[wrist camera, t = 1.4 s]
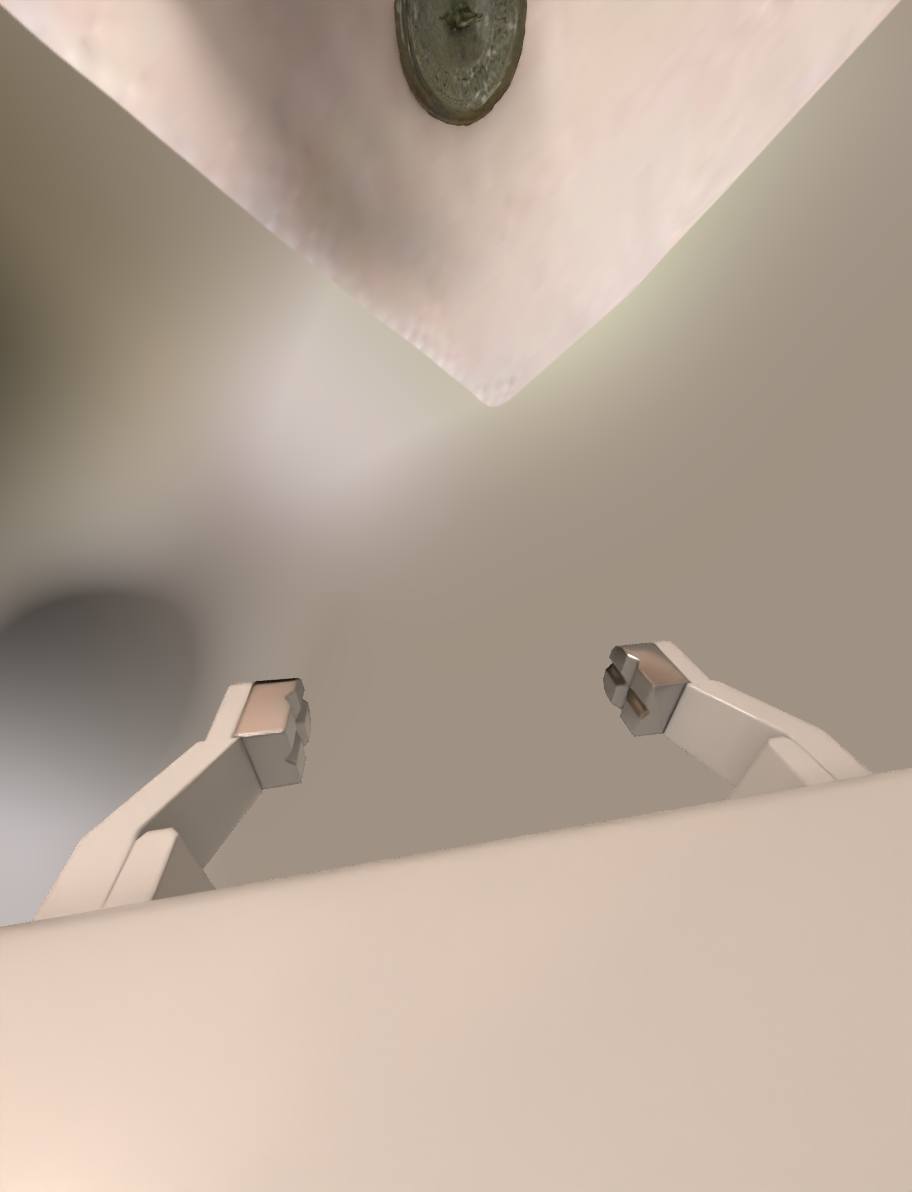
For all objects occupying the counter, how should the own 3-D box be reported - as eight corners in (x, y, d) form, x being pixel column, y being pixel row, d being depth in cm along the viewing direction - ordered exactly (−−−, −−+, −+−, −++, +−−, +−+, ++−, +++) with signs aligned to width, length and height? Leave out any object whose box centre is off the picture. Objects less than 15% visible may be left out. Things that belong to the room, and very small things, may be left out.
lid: (434, -155, 26) (429, -198, 23) (553, -30, 30) (564, -52, 26) (382, 77, 33) (373, 69, 30) (482, 156, 37) (484, 157, 34)
